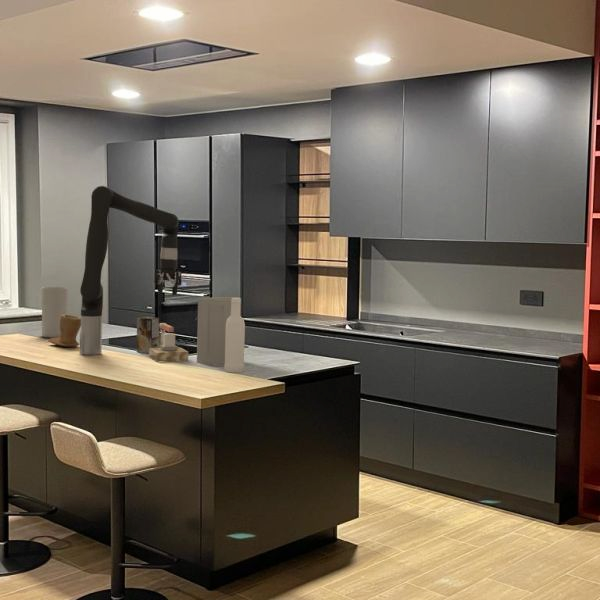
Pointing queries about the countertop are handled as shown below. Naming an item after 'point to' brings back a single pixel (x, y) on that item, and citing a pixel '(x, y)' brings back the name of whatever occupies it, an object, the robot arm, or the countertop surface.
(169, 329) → the bar
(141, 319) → the coffee box
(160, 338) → the clip post
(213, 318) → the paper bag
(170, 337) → the plug
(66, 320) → the brown boot-shaped piece
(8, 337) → the countertop surface
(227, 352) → the bottle
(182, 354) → the socket block
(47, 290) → the cylinder vase
